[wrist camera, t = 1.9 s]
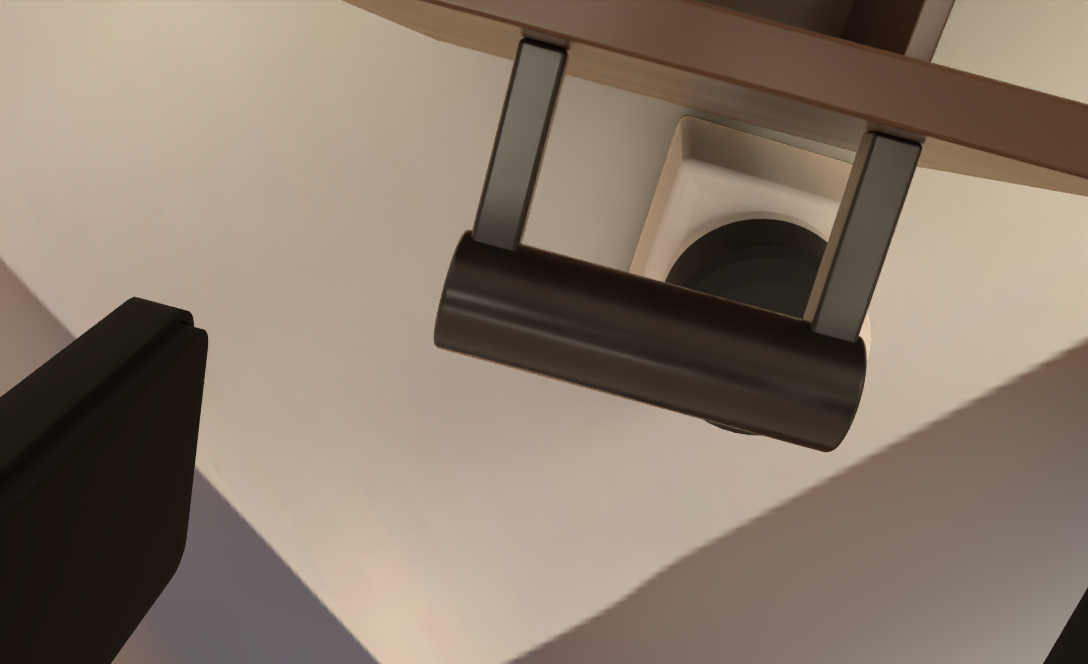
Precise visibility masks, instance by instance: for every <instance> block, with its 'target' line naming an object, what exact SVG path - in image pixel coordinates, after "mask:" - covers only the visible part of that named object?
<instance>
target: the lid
mask: <svg viewBox="0 0 1088 664" xmlns="http://www.w3.org/2000/svg"><path fill="white" fill-rule="evenodd" d="M342 1H344V2H347V3H349V4H352V5H354V6H356V7H359V8H361V9H364V10H366V11H368V12H371V13H373V14H376V15H378V16H380V17H383V18H385V19H388V20H390V21H392V22H395V23H397V24H400V25H402V26H404V27H407V28H409V29H412V30H414V31H416V32H419V33H421V34H424V35H426V36H428V37H431V38H433V39H436V40H439V41H443V42H446V43H450V44H454V45H457V46H461V47H465V48H469V49H472V50H476V51H480V52H484V53H487V54H491V55H495V56H499V57H502V58H506V59H510V60H514V63H513V67H512V71H511V75H510V79H509V83H508V87H507V92H506V96H505V100H504V104H503V108H502V112H501V116H500V120H499V124H498V128H497V132H496V136H495V141H494V145H493V149H492V153H491V157H490V161H489V165H488V169H487V173H486V177H485V181H484V185H483V189H482V194H481V198H480V202H479V206H478V210H477V214H476V218H475V222H474V226H473V230H466V231H465V232H464V233H463V234H462V236H461V237H460V239H459V241H458V244H457V246H456V248H455V251H454V254H453V257H452V260H451V263H450V266H449V269H448V272H447V276H446V279H445V283H444V287H443V290H442V294H441V298H440V303H439V307H438V312H437V317H436V322H435V329H434V344H435V346H436V347H437V348H439V349H443V350H447V351H451V352H454V353H458V354H462V355H465V356H469V357H473V358H477V359H480V360H484V361H488V362H491V363H495V364H499V365H503V366H506V367H510V368H514V369H517V370H521V371H525V372H528V373H532V374H536V375H540V376H543V377H547V378H551V379H554V380H558V381H562V382H566V383H569V384H573V385H577V386H580V387H584V388H588V389H592V390H595V391H599V392H603V393H606V394H610V395H614V396H618V397H621V398H625V399H629V400H632V401H636V402H640V403H644V404H647V405H651V406H655V407H658V408H662V409H666V410H670V411H673V412H677V413H681V414H684V415H688V416H692V417H696V418H699V419H703V420H707V421H710V422H714V423H718V424H722V425H725V426H729V427H733V428H736V429H740V430H744V431H748V432H751V433H755V434H759V435H762V436H766V437H770V438H774V439H777V440H781V441H785V442H788V443H792V444H796V445H800V446H803V447H807V448H811V449H814V450H818V451H822V452H830V451H833V450H834V449H836V448H837V447H838V446H839V444H840V443H841V442H842V440H843V439H844V437H845V436H846V434H847V432H848V430H849V428H850V426H851V424H852V422H853V420H854V417H855V415H856V412H857V409H858V406H859V403H860V399H861V396H862V392H863V387H864V382H865V376H866V366H867V352H866V345H865V342H864V340H863V338H862V337H861V336H859V334H860V331H861V328H862V325H863V322H864V319H865V316H866V314H867V311H868V308H869V305H870V302H871V299H872V296H873V293H874V290H875V287H876V284H877V281H878V278H879V275H880V272H881V269H882V267H883V264H884V261H885V258H886V255H887V252H888V249H889V246H890V243H891V240H892V237H893V234H894V231H895V228H896V225H897V223H898V220H899V217H900V214H901V211H902V208H903V205H904V202H905V199H906V196H907V193H908V190H909V187H910V184H911V181H912V178H913V176H914V173H915V170H916V167H917V166H918V167H923V168H929V169H935V170H940V171H946V172H952V173H957V174H963V175H969V176H974V177H980V178H985V179H991V180H997V181H1002V182H1008V183H1014V184H1019V185H1025V186H1031V187H1036V188H1042V189H1048V190H1053V191H1059V192H1065V193H1070V194H1076V195H1082V196H1087V197H1088V104H1085V103H1081V102H1077V101H1073V100H1070V99H1066V98H1062V97H1058V96H1055V95H1051V94H1047V93H1043V92H1040V91H1036V90H1032V89H1028V88H1025V87H1021V86H1017V85H1013V84H1010V83H1006V82H1002V81H998V80H995V79H991V78H987V77H983V76H980V75H976V74H972V73H968V72H965V71H961V70H957V69H953V68H950V67H946V66H942V65H938V64H935V63H931V62H927V61H923V60H920V59H916V58H912V57H908V56H905V55H901V54H897V53H893V52H890V51H886V50H882V49H878V48H875V47H871V46H867V45H863V44H860V43H856V42H852V41H848V40H845V39H841V38H837V37H833V36H830V35H826V34H822V33H818V32H815V31H811V30H807V29H803V28H800V27H796V26H792V25H788V24H785V23H781V22H777V21H773V20H770V19H766V18H762V17H758V16H755V15H751V14H747V13H743V12H740V11H736V10H732V9H728V8H725V7H721V6H717V5H713V4H710V3H706V2H702V1H698V0H342ZM565 74H566V75H570V76H573V77H577V78H581V79H585V80H588V81H592V82H596V83H600V84H603V85H607V86H611V87H615V88H618V89H622V90H626V91H630V92H633V93H637V94H641V95H645V96H648V97H652V98H656V99H659V100H663V101H667V102H671V103H674V104H678V105H682V106H686V107H689V108H693V109H697V110H701V111H704V112H708V113H712V114H716V115H719V116H723V117H727V118H731V119H734V120H738V121H742V122H746V123H749V124H753V125H757V126H760V127H764V128H768V129H772V130H775V131H779V132H783V133H787V134H790V135H794V136H798V137H802V138H805V139H809V140H813V141H817V142H820V143H824V144H828V145H832V146H835V147H839V148H843V149H847V150H850V151H854V152H857V154H856V157H855V160H854V163H853V166H852V169H851V172H850V175H849V178H848V181H847V185H846V188H845V191H844V194H843V197H842V200H841V203H840V206H839V209H838V212H837V215H836V218H835V221H834V224H833V227H832V230H831V234H830V237H829V240H828V243H827V246H826V249H825V252H824V255H823V258H822V261H821V264H820V267H819V270H818V273H817V276H816V280H815V283H814V286H813V289H812V292H811V295H810V298H809V301H808V304H807V307H806V310H805V313H804V316H803V319H800V318H796V317H792V316H789V315H785V314H781V313H777V312H774V311H770V310H766V309H763V308H759V307H755V306H751V305H748V304H744V303H740V302H737V301H733V300H729V299H725V298H722V297H718V296H714V295H710V294H707V293H703V292H699V291H696V290H692V289H688V288H684V287H681V286H677V285H673V284H669V283H666V282H662V281H658V280H655V279H651V278H647V277H643V276H640V275H636V274H632V273H629V272H625V271H621V270H617V269H614V268H610V267H606V266H602V265H599V264H595V263H591V262H588V261H584V260H580V259H576V258H573V257H569V256H565V255H561V254H558V253H554V252H550V251H547V250H543V249H539V248H535V247H532V246H528V245H524V244H522V240H523V236H524V232H525V229H526V225H527V221H528V217H529V213H530V209H531V205H532V201H533V197H534V194H535V190H536V186H537V182H538V178H539V174H540V170H541V166H542V162H543V159H544V155H545V151H546V147H547V143H548V139H549V135H550V131H551V127H552V124H553V120H554V116H555V112H556V108H557V104H558V100H559V96H560V92H561V89H562V85H563V81H564V77H565Z"/></svg>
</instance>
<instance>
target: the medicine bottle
mask: <svg viewBox="0 0 1088 664" xmlns="http://www.w3.org/2000/svg"><path fill="white" fill-rule="evenodd" d="M852 166H853V164H849V163H846V162H843V161H839V160H836V159H833V158H829V157H826V156H823V155H819V154H816V153H812V152H809V151H806V150H802V149H799V148H796V147H792V146H789V145H786V144H782V143H779V142H776V141H772V140H769V139H766V138H762V137H759V136H756V135H752V134H749V133H746V132H742V131H739V130H736V129H732V128H729V127H726V126H722V125H719V124H715V123H712V122H709V121H705V120H702V119H699V118H695V117H692V116H684V117H683V118H681V119H680V120H679V122H678V124H677V127H676V130H675V133H674V136H673V139H672V142H671V145H670V148H669V151H668V154H667V157H666V160H665V163H664V166H663V169H662V172H661V176H660V179H659V182H658V185H657V188H656V191H655V194H654V197H653V200H652V203H651V206H650V209H649V212H648V215H647V218H646V221H645V224H644V227H643V230H642V233H641V236H640V239H639V242H638V245H637V248H636V251H635V254H634V257H633V260H632V263H631V266H630V269H629V273H632V274H636V275H640V276H643V277H647V278H651V279H655V280H658V281H662V282H666V283H669V284H673V285H677V286H681V287H684V288H688V289H692V290H696V291H699V292H703V293H707V294H710V295H714V296H718V297H722V298H725V299H729V300H733V301H737V302H740V303H744V304H748V305H751V306H755V307H759V308H763V309H766V310H770V311H774V312H777V313H781V314H785V315H789V316H792V317H796V318H800V319H803V316H804V313H805V310H806V307H807V304H808V301H809V298H810V295H811V292H812V289H813V286H814V283H815V280H816V276H817V273H818V270H819V267H820V264H821V261H822V258H823V255H824V252H825V249H826V246H827V243H828V240H829V237H830V234H831V230H832V227H833V224H834V221H835V218H836V215H837V212H838V209H839V206H840V203H841V200H842V197H843V194H844V191H845V188H846V185H847V181H848V178H849V175H850V172H851V169H852ZM894 233H895V231H894ZM893 235H894V234H893ZM859 336H861V337H862V338H863V340H864V342H865V345H866V352H867V361H868V358H869V353H870V347H871V328H870V322H869V317H868V313H867V314H866V316H865V319H864V322H863V325H862V328H861V331H860V334H859ZM705 421H706V422H708V423H710V424H712V425H714V426H717V427H719V428H721V429H724V430H728V431H731V432H734V433H740V434H746V435H759V434H755V433H751V432H748V431H744V430H740V429H736V428H733V427H729V426H725V425H722V424H718V423H714V422H710V421H707V420H705ZM761 436H762V435H761Z"/></svg>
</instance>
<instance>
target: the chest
mask: <svg viewBox="0 0 1088 664" xmlns="http://www.w3.org/2000/svg"><path fill="white" fill-rule="evenodd" d="M698 1H702V2H706V3H710V4H713V5H717V6H721V7H725V8H728V9H732V10H736V11H740V12H743V13H747V14H751V15H755V16H758V17H762V18H766V19H770V20H773V21H777V22H781V23H785V24H788V25H792V26H796V27H800V28H803V29H807V30H811V31H815V32H818V33H822V34H826V35H830V36H833V37H837V38H841V39H845V40H848V41H852V42H856V43H860V44H863V45H867V46H871V47H875V48H878V49H882V50H886V51H890V52H893V53H897V54H901V55H905V56H908V57H912V58H916V59H920V60H923V61H927V62H931V60H932V58H933V55H934V53H935V50H936V48H937V45H938V43H939V40H940V38H941V35H942V33H943V30H944V27H945V25H946V22H947V20H948V17H949V15H950V12H951V10H952V7H953V5H954V2H955V0H698Z"/></svg>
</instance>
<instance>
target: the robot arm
mask: <svg viewBox="0 0 1088 664" xmlns="http://www.w3.org/2000/svg"><path fill="white" fill-rule="evenodd" d="M207 351H208V335H207V332H206V331H205V330H203V329H199V328H196V327H194V321H193V316H192V314H191V313H190V311H186V310H183V309H179V308H175V307H171V306H168V305H164V304H160V303H156V302H153V301H149V300H145V299H141V298H137V297H133V298H131V299H129V300H127V301H126V302H124V303H123V304H122V305H120V306H119V307H118V308H117V309H115V310H114V311H113V312H111V313H110V314H109V315H107V316H106V317H105V318H103V319H102V320H101V321H99V322H98V323H97V324H96V325H94V326H93V327H92V328H90V329H89V330H88V331H86V332H85V333H84V334H82V335H81V336H80V337H79V338H77V339H76V340H75V341H73V342H72V343H71V344H70V345H68V346H67V347H66V348H64V349H63V350H62V351H60V352H59V353H58V354H56V355H55V356H54V357H53V358H51V359H50V360H49V361H47V362H46V363H45V364H43V365H42V366H41V367H39V368H38V369H37V370H35V371H34V372H33V373H31V374H30V375H29V376H28V377H26V378H25V379H24V380H22V381H21V382H20V383H19V384H17V385H16V386H14V387H13V388H12V389H11V390H9V391H8V392H7V393H5V394H4V395H3V396H1V397H0V664H111V662H112V661H113V660H114V658H115V657H116V655H117V654H118V652H119V651H120V650H121V648H122V647H123V646H124V644H125V643H126V641H127V640H128V639H129V637H130V636H131V634H132V633H133V632H134V630H135V629H136V628H137V626H138V625H139V623H140V622H141V620H142V619H143V618H144V616H145V615H146V613H147V612H148V611H149V609H150V608H151V607H152V605H153V604H154V602H155V601H156V599H157V598H158V597H159V595H160V594H161V593H162V591H163V590H164V588H165V587H166V586H167V584H168V583H169V581H170V580H171V578H172V577H173V575H174V574H175V572H176V570H177V568H178V566H179V564H180V561H181V558H182V556H183V552H184V549H185V545H186V538H187V530H188V521H189V511H190V503H191V494H192V485H193V476H194V467H195V458H196V449H197V440H198V431H199V422H200V414H201V405H202V396H203V387H204V378H205V369H206V360H207ZM1043 664H1088V588H1087V590H1086V592H1085V593H1084V595H1083V597H1082V598H1081V600H1080V602H1079V603H1078V605H1077V607H1076V609H1075V610H1074V612H1073V614H1072V615H1071V617H1070V619H1069V621H1068V622H1067V624H1066V626H1065V627H1064V629H1063V631H1062V633H1061V635H1060V636H1059V638H1058V639H1057V641H1056V643H1055V644H1054V646H1053V648H1052V650H1051V651H1050V653H1049V655H1048V657H1047V658H1046V660H1045V661H1044V663H1043Z"/></svg>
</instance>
